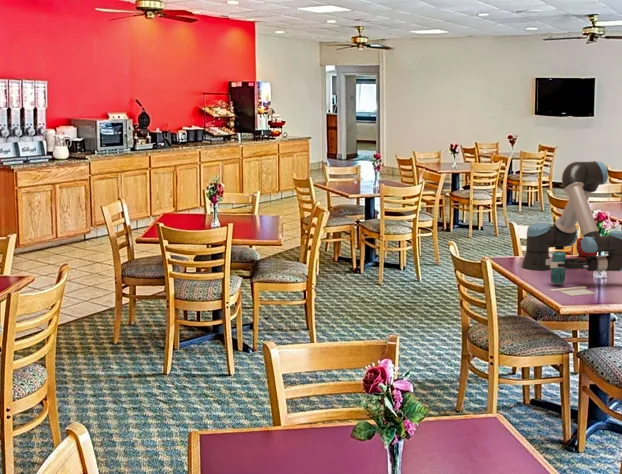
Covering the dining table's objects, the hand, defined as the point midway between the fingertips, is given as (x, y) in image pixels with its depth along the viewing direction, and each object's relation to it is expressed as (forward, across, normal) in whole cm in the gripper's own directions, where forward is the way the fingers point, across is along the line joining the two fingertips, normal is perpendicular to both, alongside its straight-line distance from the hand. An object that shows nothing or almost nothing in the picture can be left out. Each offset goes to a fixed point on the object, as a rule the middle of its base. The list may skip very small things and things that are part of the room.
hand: (548, 263), depth 383 cm
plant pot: (-43, +60, -11) cm, 74 cm away
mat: (-10, -14, -11) cm, 21 cm away
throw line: (-8, -8, -11) cm, 15 cm away
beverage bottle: (-5, 0, -11) cm, 12 cm away
